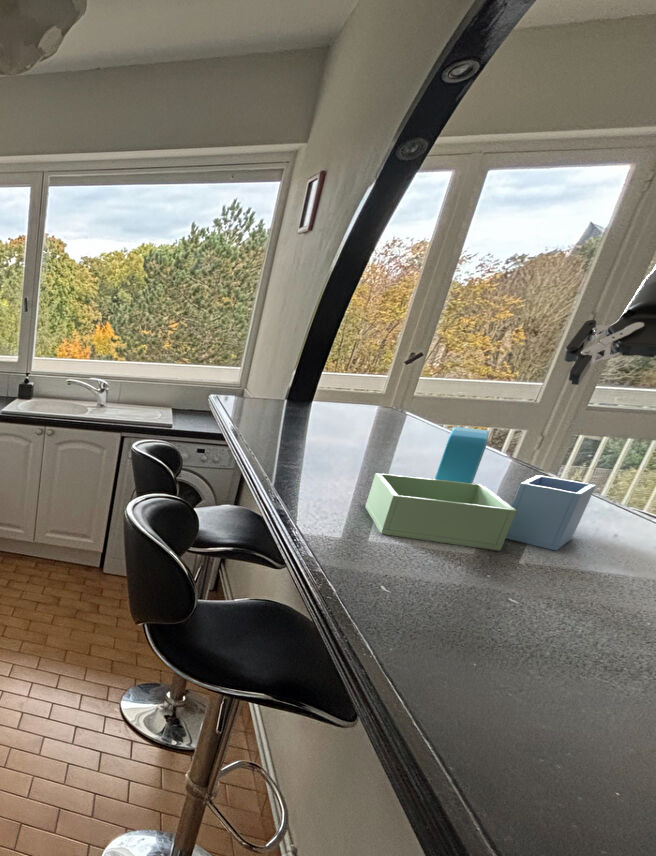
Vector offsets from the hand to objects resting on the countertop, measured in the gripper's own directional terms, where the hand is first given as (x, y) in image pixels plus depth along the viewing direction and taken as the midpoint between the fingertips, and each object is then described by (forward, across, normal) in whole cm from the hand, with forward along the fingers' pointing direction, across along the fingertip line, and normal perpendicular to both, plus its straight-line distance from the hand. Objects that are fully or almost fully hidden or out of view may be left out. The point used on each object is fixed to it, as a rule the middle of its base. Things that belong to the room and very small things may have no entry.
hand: (617, 384), depth 82 cm
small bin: (+23, 0, +6) cm, 24 cm away
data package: (+18, -13, +12) cm, 25 cm away
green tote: (+29, -10, +1) cm, 30 cm away
